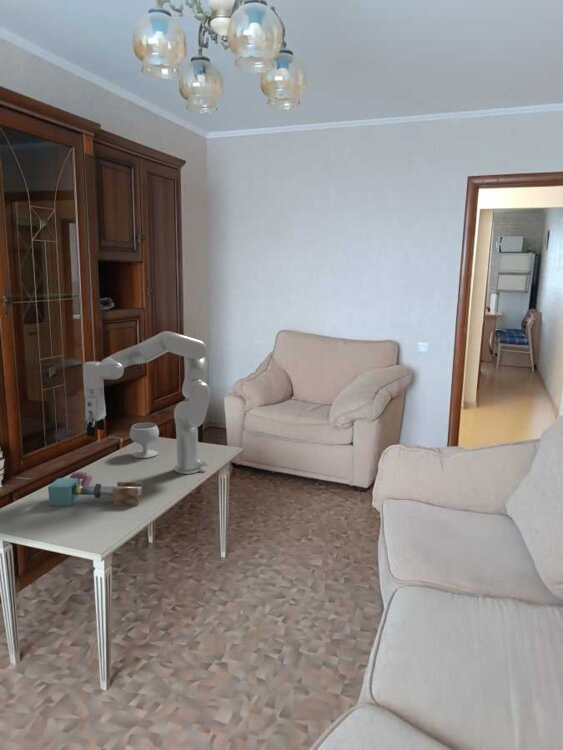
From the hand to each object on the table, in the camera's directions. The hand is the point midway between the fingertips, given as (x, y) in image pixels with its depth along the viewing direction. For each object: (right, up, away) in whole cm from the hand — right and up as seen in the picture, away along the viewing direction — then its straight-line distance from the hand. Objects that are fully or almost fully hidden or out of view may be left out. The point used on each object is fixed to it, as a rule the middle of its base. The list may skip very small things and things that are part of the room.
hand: (96, 432), depth 223 cm
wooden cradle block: (+16, -26, -10) cm, 32 cm away
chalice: (+9, -16, +45) cm, 49 cm away
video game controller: (-9, -23, +6) cm, 26 cm away
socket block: (-9, -26, -10) cm, 29 cm away
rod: (+9, -24, -10) cm, 28 cm away
